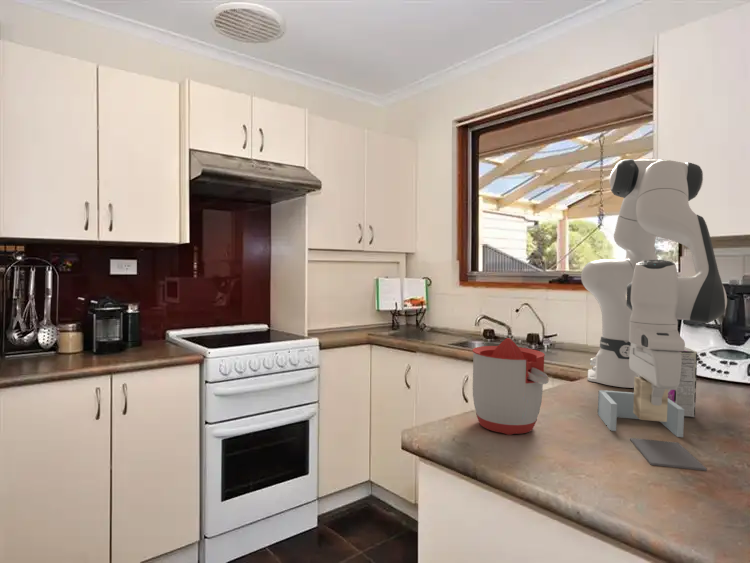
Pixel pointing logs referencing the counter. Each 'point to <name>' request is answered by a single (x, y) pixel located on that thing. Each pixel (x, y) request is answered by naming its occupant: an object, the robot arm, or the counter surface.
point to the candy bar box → (686, 383)
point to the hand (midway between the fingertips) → (650, 400)
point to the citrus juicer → (508, 387)
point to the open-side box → (622, 406)
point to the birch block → (648, 402)
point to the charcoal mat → (667, 454)
